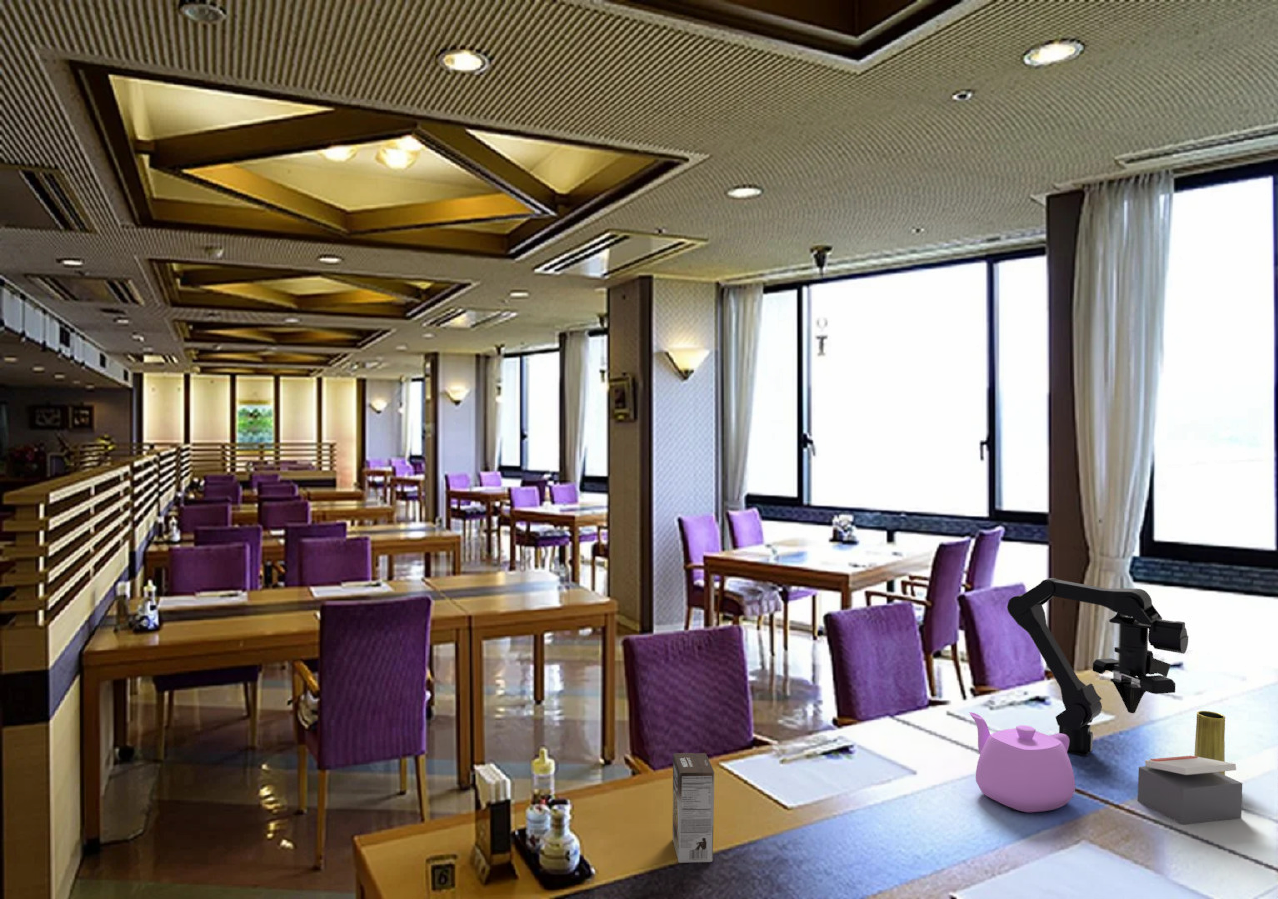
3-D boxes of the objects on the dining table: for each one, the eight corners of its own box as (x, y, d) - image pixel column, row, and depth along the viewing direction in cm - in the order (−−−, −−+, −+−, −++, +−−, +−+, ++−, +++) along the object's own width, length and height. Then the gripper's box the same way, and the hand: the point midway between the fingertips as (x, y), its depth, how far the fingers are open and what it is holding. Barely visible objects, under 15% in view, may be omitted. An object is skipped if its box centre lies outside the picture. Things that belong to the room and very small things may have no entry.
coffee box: (671, 839, 160) (672, 752, 160) (705, 838, 161) (706, 751, 160) (677, 863, 151) (678, 772, 151) (713, 862, 152) (715, 771, 151)
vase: (1231, 785, 187) (1233, 720, 187) (1199, 783, 188) (1201, 718, 188) (1218, 774, 193) (1220, 711, 193) (1187, 772, 194) (1189, 709, 194)
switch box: (1137, 800, 179) (1138, 767, 179) (1194, 795, 182) (1195, 762, 182) (1181, 824, 168) (1182, 788, 168) (1241, 818, 172) (1242, 783, 171)
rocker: (1145, 766, 178) (1144, 759, 179) (1194, 762, 181) (1193, 755, 181) (1185, 774, 169) (1184, 767, 169) (1236, 770, 172) (1235, 762, 172)
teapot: (1101, 805, 177) (1102, 731, 177) (1028, 824, 168) (1030, 747, 167) (1009, 765, 198) (1010, 699, 197) (940, 780, 188) (941, 712, 188)
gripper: (1197, 653, 190) (1195, 724, 191) (1131, 633, 208) (1130, 698, 209) (1154, 656, 188) (1152, 727, 188) (1091, 635, 206) (1090, 701, 206)
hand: (1131, 712), depth 198 cm, fingers closed
